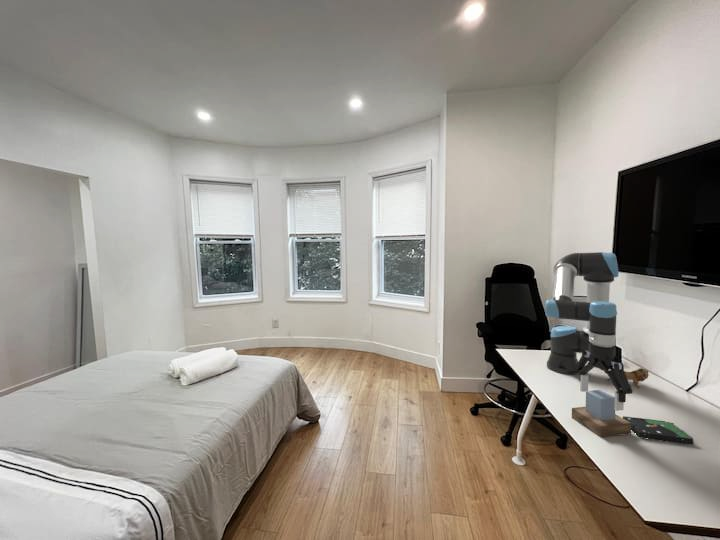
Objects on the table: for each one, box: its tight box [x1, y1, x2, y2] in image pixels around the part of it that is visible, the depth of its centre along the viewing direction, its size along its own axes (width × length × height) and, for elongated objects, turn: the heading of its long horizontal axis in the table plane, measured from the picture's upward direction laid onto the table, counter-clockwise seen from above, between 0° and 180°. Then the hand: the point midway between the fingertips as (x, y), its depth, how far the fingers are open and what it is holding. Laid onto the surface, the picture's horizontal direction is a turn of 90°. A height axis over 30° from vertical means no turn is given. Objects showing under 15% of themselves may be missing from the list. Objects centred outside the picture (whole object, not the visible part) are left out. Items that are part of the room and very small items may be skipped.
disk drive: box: [622, 415, 694, 446], centre depth 103 cm, size 10×3×15 cm
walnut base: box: [571, 406, 632, 438], centre depth 107 cm, size 12×12×4 cm
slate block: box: [585, 389, 616, 421], centre depth 107 cm, size 6×6×8 cm
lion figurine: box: [607, 367, 649, 388], centre depth 138 cm, size 15×5×9 cm, turn 58°
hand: (600, 399), depth 107 cm, fingers open, 13 cm apart
